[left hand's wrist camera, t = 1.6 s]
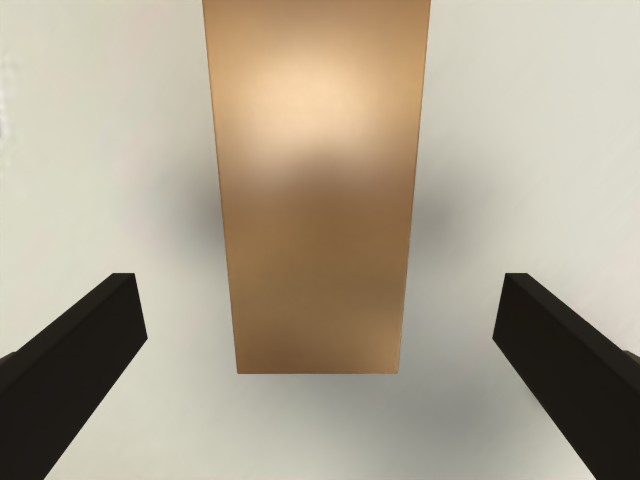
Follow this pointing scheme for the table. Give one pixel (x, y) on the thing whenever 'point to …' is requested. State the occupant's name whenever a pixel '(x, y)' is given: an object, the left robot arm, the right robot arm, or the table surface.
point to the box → (316, 175)
